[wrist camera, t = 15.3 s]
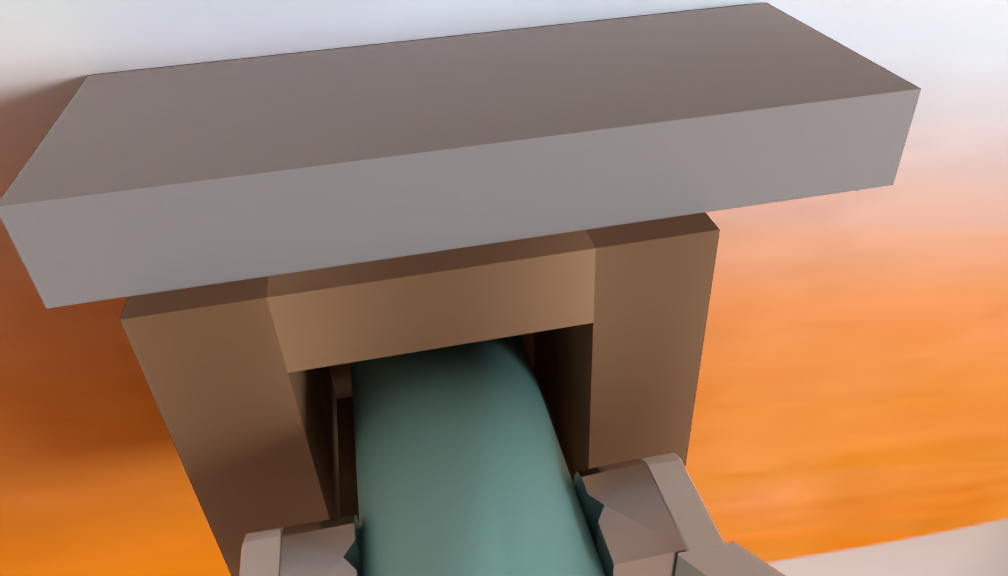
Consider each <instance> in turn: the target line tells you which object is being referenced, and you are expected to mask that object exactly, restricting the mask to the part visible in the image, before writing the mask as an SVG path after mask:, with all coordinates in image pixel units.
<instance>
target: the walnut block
mask: <svg viewBox="0 0 1008 576" xmlns="http://www.w3.org/2000/svg"><path fill="white" fill-rule="evenodd" d="M719 231H720V229H719V228H718V227H717V226H716V225H715V224H714V222H713V221H712V220H711V219H710V218H709V216H708V215H707V214H706V213H705V212H704V213H697V214H690V215H683V216H676V217H669V218H662V219H656V220H649V221H642V222H635V223H628V224H621V225H615V226H608V227H601V228H594V229H587V230H580V231H574V232H567V233H560V234H553V235H546V236H539V237H533V238H526V239H519V240H512V241H505V242H498V243H492V244H485V245H478V246H471V247H464V248H457V249H450V250H444V251H437V252H430V253H423V254H416V255H409V256H403V257H396V258H389V259H382V260H375V261H368V262H362V263H355V264H348V265H341V266H334V267H327V268H321V269H314V270H307V271H300V272H293V273H286V274H280V275H273V276H266V277H259V278H252V279H245V280H238V281H232V282H225V283H218V284H211V285H204V286H197V287H191V288H184V289H177V290H170V291H163V292H156V293H150V294H143V295H136V296H129V297H127V300H126V303H125V306H124V309H123V311H122V314H121V317H120V322H121V324H122V326H123V329H124V331H125V333H126V335H127V338H128V340H129V342H130V345H131V347H132V349H133V352H134V354H135V356H136V358H137V361H138V363H139V365H140V368H141V370H142V372H143V374H144V377H145V379H146V381H147V384H148V386H149V388H150V390H151V393H152V395H153V397H154V400H155V402H156V404H157V406H158V409H159V411H160V413H161V416H162V418H163V420H164V422H165V425H166V427H167V429H168V432H169V434H170V436H171V438H172V441H173V443H174V445H175V448H176V450H177V452H178V454H179V457H180V459H181V461H182V464H183V466H184V468H185V470H186V473H187V475H188V477H189V480H190V482H191V484H192V486H193V489H194V491H195V493H196V496H197V498H198V500H199V502H200V505H201V507H202V509H203V512H204V514H205V516H206V518H207V521H208V523H209V525H210V528H211V530H212V532H213V534H214V537H215V539H216V541H217V544H218V546H219V548H220V550H221V553H222V555H223V557H224V560H225V562H226V564H227V566H228V569H229V571H230V573H231V576H239V571H240V560H241V550H242V544H243V541H244V539H245V536H246V534H248V533H254V532H259V531H265V530H270V529H275V528H281V527H287V526H293V525H299V524H305V523H311V522H317V521H323V520H329V519H335V518H341V517H347V516H353V515H357V519H358V522H359V508H358V490H357V472H356V454H355V435H354V417H353V399H352V381H351V362H357V361H363V360H369V359H375V358H381V357H388V356H394V355H400V354H406V353H412V352H418V351H424V350H430V349H436V348H442V347H449V346H455V345H461V344H467V343H473V342H479V341H485V340H491V339H497V338H503V337H510V336H516V335H521V337H522V340H523V343H524V345H525V348H526V351H527V354H528V357H529V360H530V363H531V365H532V368H533V371H534V374H535V377H536V380H537V382H538V385H539V388H540V391H541V394H542V397H543V399H544V402H545V405H546V408H547V411H548V414H549V417H550V419H551V422H552V425H553V428H554V431H555V434H556V436H557V439H558V442H559V445H560V448H561V451H562V454H563V456H564V459H565V462H566V465H567V468H568V471H569V473H570V476H571V479H572V482H573V485H574V476H575V474H576V471H580V470H585V469H590V468H594V467H599V466H604V465H609V464H614V463H619V462H623V461H628V460H633V459H638V458H639V459H642V458H647V457H652V456H657V455H662V454H668V453H675V454H677V455H678V456H679V457H680V458H681V460H682V462H683V464H684V466H685V465H686V459H687V452H688V445H689V438H690V431H691V424H692V417H693V410H694V403H695V397H696V390H697V383H698V376H699V369H700V362H701V355H702V348H703V341H704V335H705V328H706V321H707V314H708V307H709V300H710V293H711V286H712V280H713V273H714V266H715V259H716V252H717V245H718V238H719Z"/></svg>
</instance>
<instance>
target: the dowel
mask: <svg viewBox="0 0 1008 576" xmlns="http://www.w3.org/2000/svg"><path fill="white" fill-rule="evenodd" d="M351 381H352V399H353V417H354V435H355V454H356V472H357V490H358V508H359V526H360V529H361V546H362V563H363V572H362V576H605V573H604V570H603V567H602V564H601V562H600V559H599V556H598V553H597V550H596V547H595V545H594V542H593V539H592V536H591V533H590V530H589V527H588V525H587V522H586V519H585V516H584V513H583V510H582V508H581V505H580V502H579V499H578V496H577V493H576V491H575V488H574V485H573V482H572V479H571V476H570V473H569V471H568V468H567V465H566V462H565V459H564V456H563V454H562V451H561V448H560V445H559V442H558V439H557V436H556V434H555V431H554V428H553V425H552V422H551V419H550V417H549V414H548V411H547V408H546V405H545V402H544V399H543V397H542V394H541V391H540V388H539V385H538V382H537V380H536V377H535V374H534V371H533V368H532V365H531V363H530V360H529V357H528V354H527V351H526V348H525V345H524V343H523V340H522V337H521V335H516V336H510V337H503V338H497V339H491V340H485V341H479V342H473V343H467V344H461V345H455V346H449V347H442V348H436V349H430V350H424V351H418V352H412V353H406V354H400V355H394V356H388V357H381V358H375V359H369V360H363V361H357V362H351Z"/></svg>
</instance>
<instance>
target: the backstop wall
mask: <svg viewBox="0 0 1008 576" xmlns="http://www.w3.org/2000/svg"><path fill="white" fill-rule="evenodd" d="M920 90H921V88H919V87H917V86H915V85H913V84H912V83H910V82H908V81H906V80H904V79H903V78H901V77H899V76H897V75H895V74H894V73H892V72H890V71H888V70H886V69H885V68H883V67H881V66H879V65H878V64H876V63H874V62H872V61H870V60H869V59H867V58H865V57H863V56H861V55H860V54H858V53H856V52H854V51H852V50H851V49H849V48H847V47H845V46H843V45H842V44H840V43H838V42H836V41H834V40H833V39H831V38H829V37H827V36H826V35H824V34H822V33H820V32H818V31H817V30H815V29H813V28H811V27H809V26H808V25H806V24H804V23H802V22H800V21H799V20H797V19H795V18H793V17H791V16H790V15H788V14H786V13H784V12H782V11H781V10H779V9H777V8H775V7H773V6H772V5H770V4H768V3H757V4H748V5H739V6H730V7H720V8H711V9H702V10H692V11H683V12H674V13H664V14H655V15H646V16H636V17H627V18H618V19H608V20H599V21H590V22H581V23H571V24H562V25H553V26H543V27H534V28H525V29H515V30H506V31H497V32H487V33H478V34H469V35H459V36H450V37H441V38H432V39H422V40H413V41H404V42H394V43H385V44H376V45H366V46H357V47H348V48H338V49H329V50H320V51H310V52H301V53H292V54H282V55H273V56H264V57H255V58H245V59H236V60H227V61H217V62H208V63H199V64H189V65H180V66H171V67H161V68H152V69H143V70H133V71H124V72H115V73H106V74H96V75H88V76H87V78H86V79H85V80H84V82H83V83H82V85H81V86H80V88H79V89H78V90H77V92H76V93H75V95H74V96H73V97H72V99H71V100H70V102H69V103H68V105H67V106H66V107H65V109H64V110H63V112H62V113H61V114H60V116H59V117H58V119H57V120H56V122H55V123H54V124H53V126H52V127H51V129H50V130H49V131H48V133H47V134H46V136H45V137H44V139H43V140H42V141H41V143H40V144H39V146H38V147H37V148H36V150H35V151H34V153H33V154H32V156H31V157H30V158H29V160H28V161H27V163H26V164H25V165H24V167H23V168H22V170H21V171H20V173H19V174H18V175H17V177H16V178H15V180H14V181H13V182H12V184H11V185H10V187H9V188H8V190H7V191H6V192H5V194H4V195H3V197H2V198H1V199H0V218H1V220H2V222H3V224H4V226H5V228H6V230H7V232H8V234H9V236H10V238H11V240H12V242H13V244H14V245H15V247H16V249H17V251H18V253H19V255H20V257H21V259H22V261H23V263H24V265H25V267H26V269H27V271H28V273H29V275H30V277H31V279H32V281H33V283H34V285H35V287H36V289H37V291H38V293H39V295H40V297H41V299H42V301H43V303H44V305H45V307H46V309H47V308H54V307H61V306H68V305H74V304H81V303H88V302H95V301H102V300H109V299H115V298H122V297H129V296H136V295H143V294H150V293H156V292H163V291H170V290H177V289H184V288H191V287H197V286H204V285H211V284H218V283H225V282H232V281H238V280H245V279H252V278H259V277H266V276H273V275H280V274H286V273H293V272H300V271H307V270H314V269H321V268H327V267H334V266H341V265H348V264H355V263H362V262H368V261H375V260H382V259H389V258H396V257H403V256H409V255H416V254H423V253H430V252H437V251H444V250H450V249H457V248H464V247H471V246H478V245H485V244H492V243H498V242H505V241H512V240H519V239H526V238H533V237H539V236H546V235H553V234H560V233H567V232H574V231H580V230H587V229H594V228H601V227H608V226H615V225H621V224H628V223H635V222H642V221H649V220H656V219H662V218H669V217H676V216H683V215H690V214H697V213H704V212H710V211H717V210H724V209H731V208H738V207H745V206H751V205H758V204H765V203H772V202H779V201H786V200H792V199H799V198H806V197H813V196H820V195H827V194H834V193H840V192H847V191H854V190H861V189H868V188H875V187H881V186H888V185H893V183H894V180H895V176H896V173H897V169H898V166H899V162H900V159H901V156H902V152H903V149H904V145H905V142H906V138H907V135H908V132H909V128H910V125H911V121H912V118H913V114H914V111H915V107H916V104H917V101H918V97H919V94H920Z"/></svg>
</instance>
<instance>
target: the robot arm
mask: <svg viewBox="0 0 1008 576" xmlns="http://www.w3.org/2000/svg"><path fill="white" fill-rule="evenodd" d="M574 488H575V491H576V493H577V496H578V499H579V502H580V505H581V508H582V510H583V513H584V516H585V519H586V522H587V525H588V527H589V530H590V533H591V536H592V539H593V542H594V545H595V547H596V550H597V553H598V556H599V559H600V562H601V564H602V567H603V570H604V573H605V576H785V575H784V574H782V573H781V572H779V571H778V570H776V569H775V568H773V567H772V566H770V565H769V564H767V563H766V562H764V561H763V560H762V559H760V558H759V557H757V556H756V555H754V554H753V553H751V552H750V551H748V550H747V549H745V548H744V547H742V546H741V545H739V544H738V543H736V542H729V543H725V542H724V540H723V538H722V536H721V535H720V533H719V531H718V529H717V527H716V525H715V523H714V521H713V519H712V517H711V516H710V514H709V512H708V510H707V508H706V506H705V504H704V502H703V500H702V498H701V496H700V495H699V493H698V491H697V489H696V487H695V485H694V483H693V481H692V479H691V477H690V475H689V474H688V472H687V470H686V468H685V466H684V464H683V462H682V460H681V458H680V457H679V456H678V455H677V454H675V453H668V454H662V455H657V456H652V457H647V458H642V459H639V458H638V459H633V460H628V461H623V462H619V463H614V464H609V465H604V466H599V467H594V468H590V469H585V470H580V471H576V474H575V476H574ZM362 572H363V563H362V546H361V529H360V526H359V522H358V519H357V515H353V516H347V517H341V518H335V519H329V520H323V521H317V522H311V523H305V524H299V525H293V526H287V527H281V528H275V529H270V530H265V531H259V532H254V533H248V534H246V536H245V539H244V541H243V544H242V550H241V560H240V571H239V576H362Z"/></svg>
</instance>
